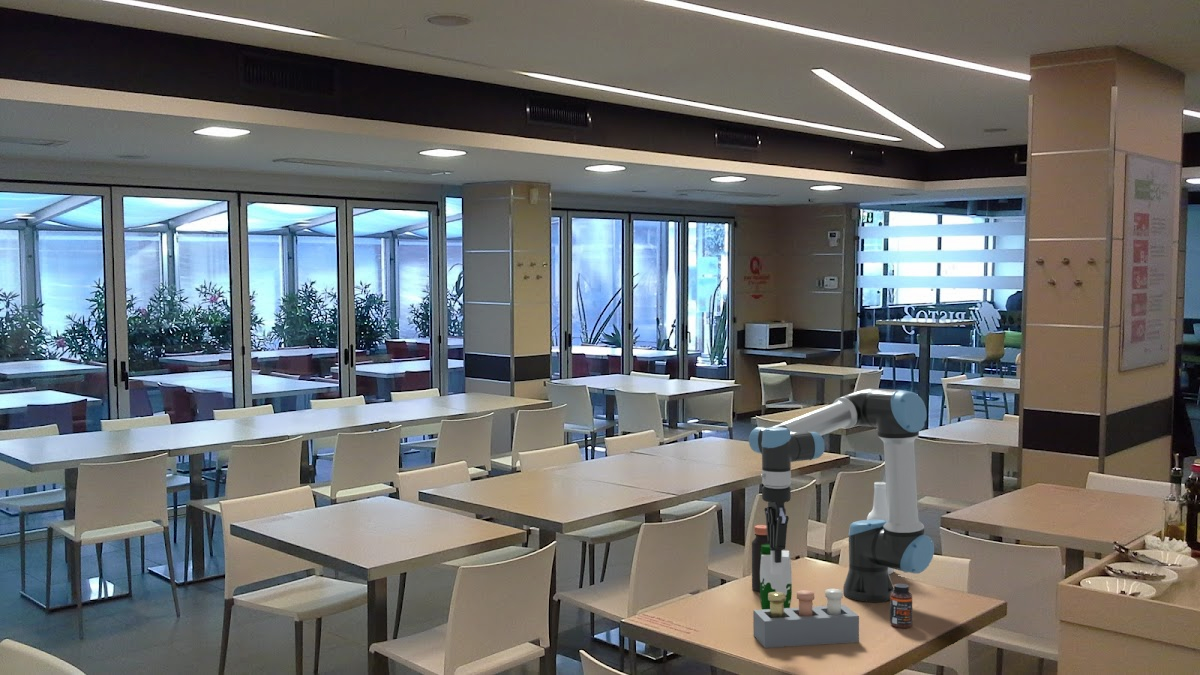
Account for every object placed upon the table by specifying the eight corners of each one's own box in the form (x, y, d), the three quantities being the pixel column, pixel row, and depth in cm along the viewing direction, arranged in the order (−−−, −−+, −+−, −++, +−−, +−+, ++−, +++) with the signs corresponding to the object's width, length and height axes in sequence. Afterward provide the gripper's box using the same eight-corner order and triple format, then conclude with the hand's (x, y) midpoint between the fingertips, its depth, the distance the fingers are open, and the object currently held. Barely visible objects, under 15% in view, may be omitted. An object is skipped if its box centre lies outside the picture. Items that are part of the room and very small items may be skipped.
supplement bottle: (896, 629, 277) (896, 588, 277) (886, 622, 283) (886, 583, 283) (916, 628, 278) (916, 587, 278) (905, 621, 284) (905, 581, 284)
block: (844, 629, 277) (844, 604, 277) (859, 641, 267) (859, 615, 267) (753, 635, 273) (753, 610, 273) (764, 647, 263) (764, 621, 263)
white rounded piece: (838, 614, 274) (838, 588, 274) (845, 620, 269) (845, 593, 269) (822, 615, 273) (822, 589, 273) (829, 621, 269) (828, 593, 268)
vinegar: (751, 591, 315) (750, 528, 314) (752, 586, 321) (752, 523, 321) (773, 593, 313) (772, 529, 312) (774, 587, 320) (773, 524, 319)
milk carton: (760, 608, 297) (760, 541, 296) (791, 610, 295) (791, 542, 295) (759, 618, 288) (759, 548, 288) (791, 619, 287) (791, 550, 286)
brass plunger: (782, 618, 271) (782, 591, 271) (788, 623, 267) (787, 596, 267) (766, 619, 271) (765, 592, 271) (771, 624, 266) (771, 597, 266)
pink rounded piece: (810, 616, 273) (810, 589, 272) (816, 621, 268) (816, 594, 268) (794, 617, 272) (794, 590, 272) (800, 622, 267) (800, 595, 267)
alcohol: (878, 576, 331) (878, 486, 330) (861, 570, 339) (861, 481, 338) (899, 573, 334) (899, 483, 334) (881, 567, 342) (881, 479, 341)
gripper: (755, 482, 274) (755, 568, 274) (770, 490, 261) (770, 580, 261) (781, 481, 275) (781, 566, 275) (798, 489, 262) (798, 579, 262)
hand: (776, 573), depth 268 cm, fingers closed
